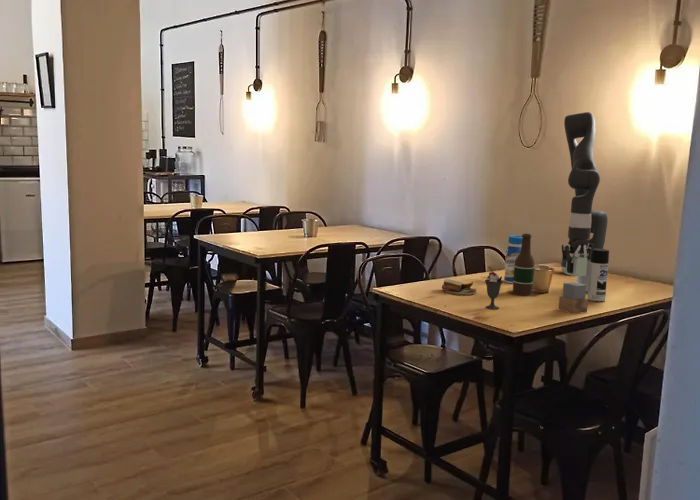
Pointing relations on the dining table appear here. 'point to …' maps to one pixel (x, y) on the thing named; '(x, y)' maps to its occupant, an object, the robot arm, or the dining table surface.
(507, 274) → the beverage bottle
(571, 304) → the plinth
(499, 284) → the sundae
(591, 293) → the spray can
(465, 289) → the toy sandwich meal
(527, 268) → the beer bottle
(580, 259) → the block
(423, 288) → the dining table surface
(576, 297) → the cube
